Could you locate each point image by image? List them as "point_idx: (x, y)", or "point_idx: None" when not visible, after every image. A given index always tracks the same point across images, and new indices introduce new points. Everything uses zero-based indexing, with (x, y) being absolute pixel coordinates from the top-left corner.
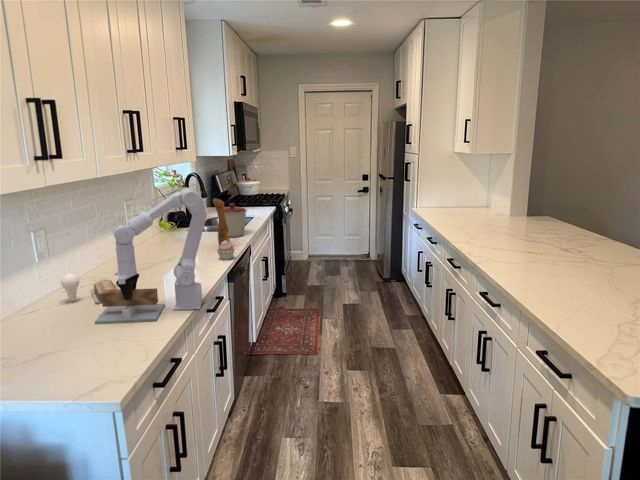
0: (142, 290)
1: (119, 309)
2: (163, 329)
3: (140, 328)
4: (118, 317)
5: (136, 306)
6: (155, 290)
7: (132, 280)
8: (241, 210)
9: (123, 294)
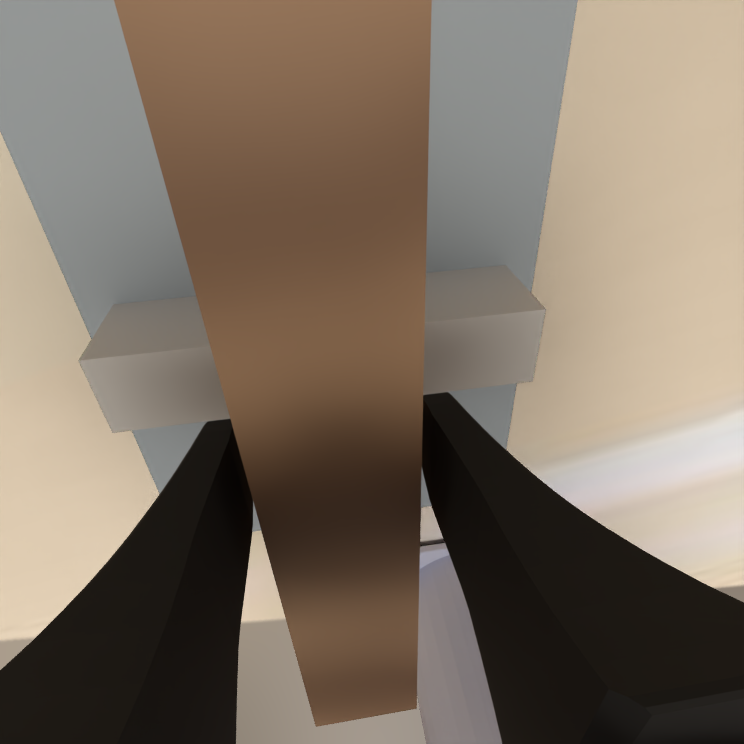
0: (348, 643)
1: None
2: (56, 593)
3: (20, 476)
4: (146, 237)
5: None
6: (342, 721)
7: (508, 701)
8: None
9: (168, 495)
